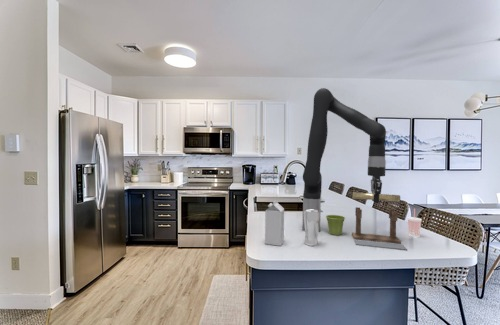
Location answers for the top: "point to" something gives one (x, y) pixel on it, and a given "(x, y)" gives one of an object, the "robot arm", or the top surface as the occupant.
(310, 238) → the beer glass
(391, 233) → the hook stand
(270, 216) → the milk carton
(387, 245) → the slate mat
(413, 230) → the beverage cup
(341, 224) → the plant pot
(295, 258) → the top surface
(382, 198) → the brass rail
